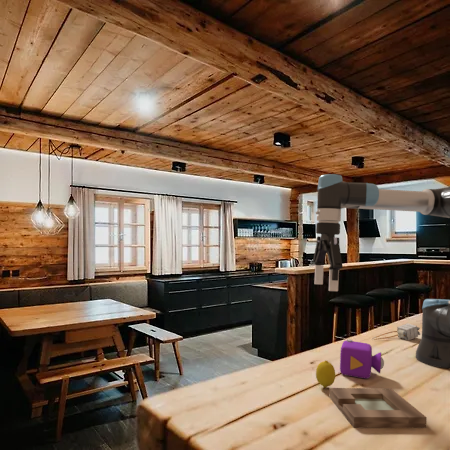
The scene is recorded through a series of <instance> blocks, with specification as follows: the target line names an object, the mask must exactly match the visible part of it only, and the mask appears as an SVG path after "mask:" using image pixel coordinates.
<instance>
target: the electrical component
mask: <svg viewBox="0 0 450 450" xmlns="http://www.w3.org/2000/svg"><path fill="white" fill-rule="evenodd" d="M396 327H397V331H396V330H392V331H389V332H386V333H383V334H380V335H376V336H374V337H372V339H371V340H372V341H373V340H374V341H375V340H384V339H389V338H394V337H397V338H399V339H402V340H405V341H411V340H413V339H416V338H418V337H419V336H420V335H421V333H420V329H421V327H418V326H417V325H415V324H412V323H408V322H407V323H405V324H402V325H399V326H396ZM391 333H397V334H395V335H391V336H387V337H386V336H385V337H381V336H384V335H388V334H391Z"/></svg>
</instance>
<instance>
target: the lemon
mask: <svg viewBox="0 0 450 450" xmlns="http://www.w3.org/2000/svg"><path fill="white" fill-rule="evenodd" d="M315 379H316V381H317V382H318V384H319V385H321V386H322V387H323V388H324V389H326V388H328V387H330V386H332V385H333V384H334V382H335V380H336V370H335V367H334V365H333V364H332V363H331V362H329V361H328V360H324V361H320V363H318V365H317V366H316V371H315Z"/></svg>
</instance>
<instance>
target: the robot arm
mask: <svg viewBox="0 0 450 450" xmlns="http://www.w3.org/2000/svg"><path fill="white" fill-rule="evenodd" d="M316 201H317V205H316V206H317V208H316V209H317V210H316V211H315V215H316V221H317V222H316V226H315V232H316V234H319V235H320V236H317V237H316V244H315V249H314V254H313V258H312V259H313V260H312V263H314V282H313V283H314V285H323V284H324V266H325V262H324V261H325V258H326V255H327V258H328V262H329V263H328V264H329V267H328V270H329V274H328V275H329V276H328V291H329V292H338V291H339V280H340V279H339V278H340V277H339V276H340V274H339V273H340V270H341V269H343V260H342V255H341V248H340V237H336V235H340V234H341V224H340V223H339V222H341V220H342V218H341V217H342V209H359V210H360V209H363V210H381V211H382V210H384V211H398V212H399V211H400V212H417V213H420V214H421V215H425V216H434V217H440V218H448V219H450V186H447V187H440V188H424V189H423V190H421V191H420V190H419V191H418V190H401V189H400V190H399V189H384V188H383V189H382V188H381V189H380V188H379V187H378V185H377V184H374V183H370V182H369V183H368V182H346V181H343V176H342V175H341V174H335V173H332V174H331V173H327V174H322V175H320V176H319V177H318V184H317V200H316ZM421 310H422V319H421V321H422V322H421V338H420V341H419V343H418V346H417V348H416V350H415V358H416V360H417V361H419V362H421V363H423V364H425V365H429V366H433V367H437V368H443V369H450V299H443V298H442V299H441V298H438V299H437V298H425V299H424V300H423V303H422V307H421Z"/></svg>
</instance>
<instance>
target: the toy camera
mask: <svg viewBox="0 0 450 450" xmlns="http://www.w3.org/2000/svg"><path fill="white" fill-rule="evenodd" d="M341 344H342V345H341V347H340V357H339V358H340V359H339V370H340V373H341V374H342V375H345V376H349V377H354V378H360V379H364V380H365V379H370V377H371V374H372V368H373V369H374V371H376V372H377V373H379V374H381V373H382V372H381V370H382V369H383V368H384V366H385V360H384V358H383V357H382V352H378V353H376V354H374V355H373V348H372V346H371V344H369V343H366V342H360V341H353V339H350V338H348V339H346V340H344V341H343V342H342V343H341Z"/></svg>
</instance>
